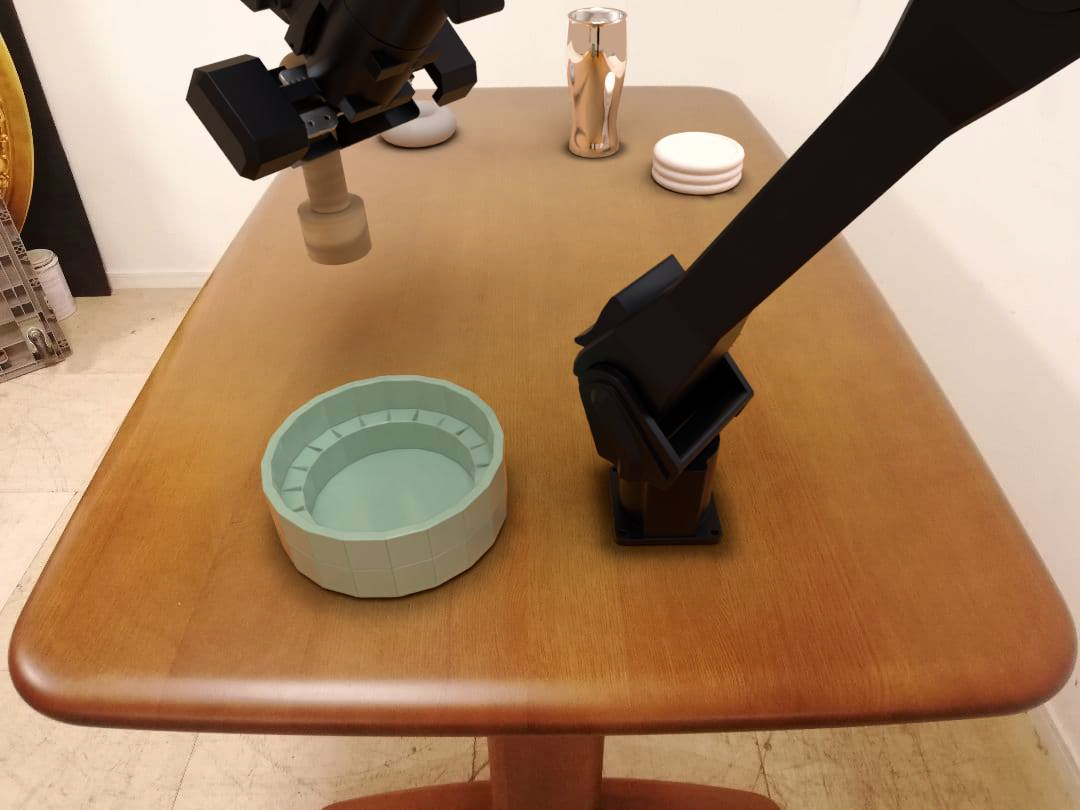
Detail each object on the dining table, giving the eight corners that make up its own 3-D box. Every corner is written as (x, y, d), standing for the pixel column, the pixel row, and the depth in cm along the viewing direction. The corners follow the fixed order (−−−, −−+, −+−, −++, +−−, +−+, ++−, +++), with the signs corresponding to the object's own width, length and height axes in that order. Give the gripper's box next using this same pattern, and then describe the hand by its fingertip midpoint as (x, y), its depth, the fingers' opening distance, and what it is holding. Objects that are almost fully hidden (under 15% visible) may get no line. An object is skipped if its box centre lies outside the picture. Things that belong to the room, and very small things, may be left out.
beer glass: (555, 143, 96) (555, 11, 87) (605, 133, 98) (610, 3, 89) (581, 163, 91) (583, 26, 82) (633, 153, 94) (641, 17, 84)
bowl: (504, 601, 44) (499, 537, 41) (255, 604, 44) (229, 541, 41) (510, 434, 55) (506, 372, 52) (310, 437, 55) (293, 376, 52)
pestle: (378, 257, 58) (342, 56, 49) (313, 270, 57) (263, 66, 48) (364, 230, 61) (328, 37, 52) (303, 242, 60) (255, 46, 51)
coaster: (668, 154, 93) (670, 125, 91) (750, 168, 90) (755, 138, 87) (638, 187, 86) (640, 156, 84) (726, 203, 83) (731, 171, 81)
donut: (448, 119, 104) (373, 127, 102) (446, 92, 102) (369, 100, 99) (465, 146, 96) (385, 155, 94) (464, 118, 94) (381, 127, 92)
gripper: (427, -143, 47) (344, 27, 60) (141, -105, 36) (112, 93, 49) (531, 16, 48) (428, 150, 61) (284, 98, 37) (220, 241, 50)
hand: (308, 154), depth 55 cm, fingers closed on pestle, 3 cm apart
